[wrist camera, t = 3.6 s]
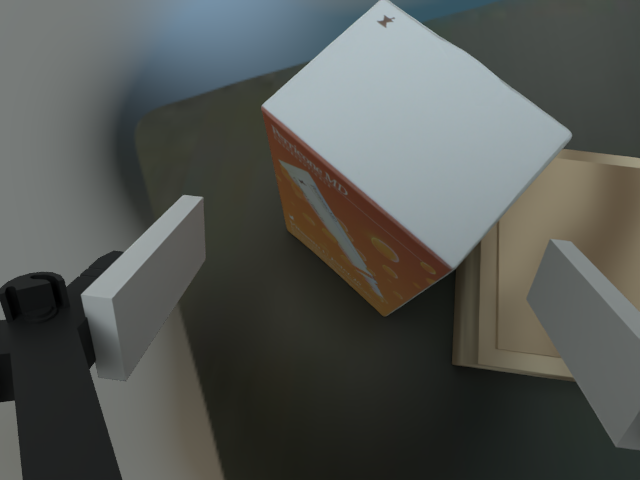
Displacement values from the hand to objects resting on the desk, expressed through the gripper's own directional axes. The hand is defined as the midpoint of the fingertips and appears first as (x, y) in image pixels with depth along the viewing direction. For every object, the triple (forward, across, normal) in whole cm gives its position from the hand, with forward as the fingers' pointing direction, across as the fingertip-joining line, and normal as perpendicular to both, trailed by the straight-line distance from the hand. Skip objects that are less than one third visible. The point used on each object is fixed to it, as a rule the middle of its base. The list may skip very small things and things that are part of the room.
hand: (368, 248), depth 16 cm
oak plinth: (+8, +12, -4) cm, 15 cm away
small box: (+9, +1, -4) cm, 10 cm away
